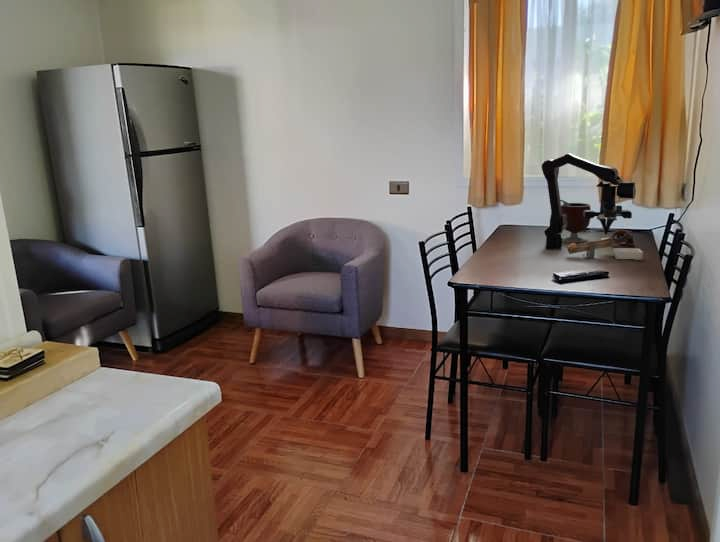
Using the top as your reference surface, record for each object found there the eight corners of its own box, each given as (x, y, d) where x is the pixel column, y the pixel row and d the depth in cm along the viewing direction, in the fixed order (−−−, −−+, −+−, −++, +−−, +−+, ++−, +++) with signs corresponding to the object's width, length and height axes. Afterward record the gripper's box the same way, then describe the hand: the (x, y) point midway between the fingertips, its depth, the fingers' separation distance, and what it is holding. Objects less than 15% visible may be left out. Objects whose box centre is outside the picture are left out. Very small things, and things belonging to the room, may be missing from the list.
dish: (616, 259, 248) (616, 252, 247) (612, 255, 255) (613, 248, 255) (642, 259, 246) (643, 252, 246) (638, 256, 253) (638, 248, 253)
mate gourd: (576, 236, 299) (578, 196, 294) (595, 241, 286) (598, 199, 281) (549, 239, 294) (551, 198, 290) (567, 244, 281) (570, 201, 277)
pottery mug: (639, 248, 270) (633, 233, 267) (618, 257, 273) (612, 242, 270) (629, 237, 281) (624, 222, 278) (609, 245, 283) (604, 231, 280)
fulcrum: (585, 259, 250) (586, 247, 249) (582, 255, 258) (583, 243, 257) (598, 259, 249) (599, 247, 248) (594, 255, 257) (595, 243, 256)
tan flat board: (569, 254, 252) (568, 247, 252) (565, 247, 266) (564, 241, 265) (615, 245, 248) (614, 238, 248) (608, 239, 261) (607, 232, 261)
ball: (571, 251, 253) (568, 245, 253) (570, 250, 256) (567, 244, 256) (578, 248, 252) (575, 242, 252) (577, 247, 255) (574, 241, 255)
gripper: (588, 200, 250) (585, 237, 254) (636, 200, 247) (633, 237, 250) (583, 197, 261) (581, 232, 265) (630, 196, 257) (627, 233, 261)
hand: (605, 234), depth 260 cm, fingers closed
